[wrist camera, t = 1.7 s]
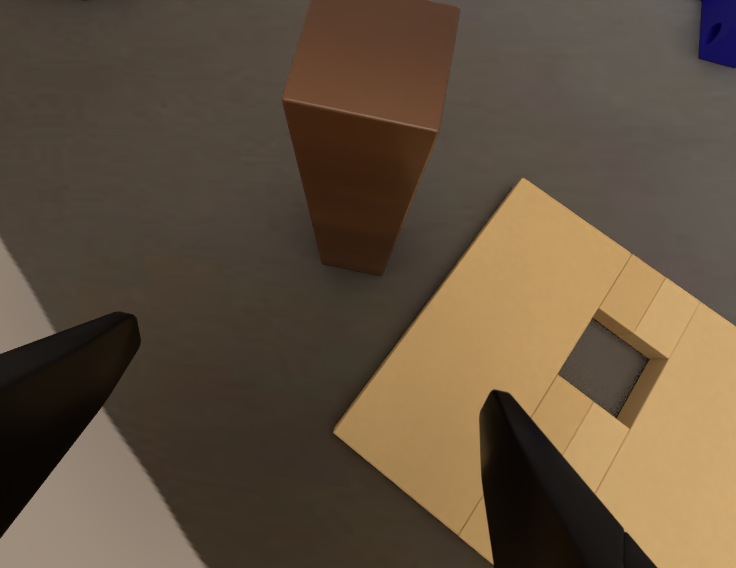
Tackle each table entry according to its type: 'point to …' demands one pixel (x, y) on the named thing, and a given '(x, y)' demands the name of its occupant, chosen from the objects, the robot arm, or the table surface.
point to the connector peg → (366, 118)
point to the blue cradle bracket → (718, 32)
